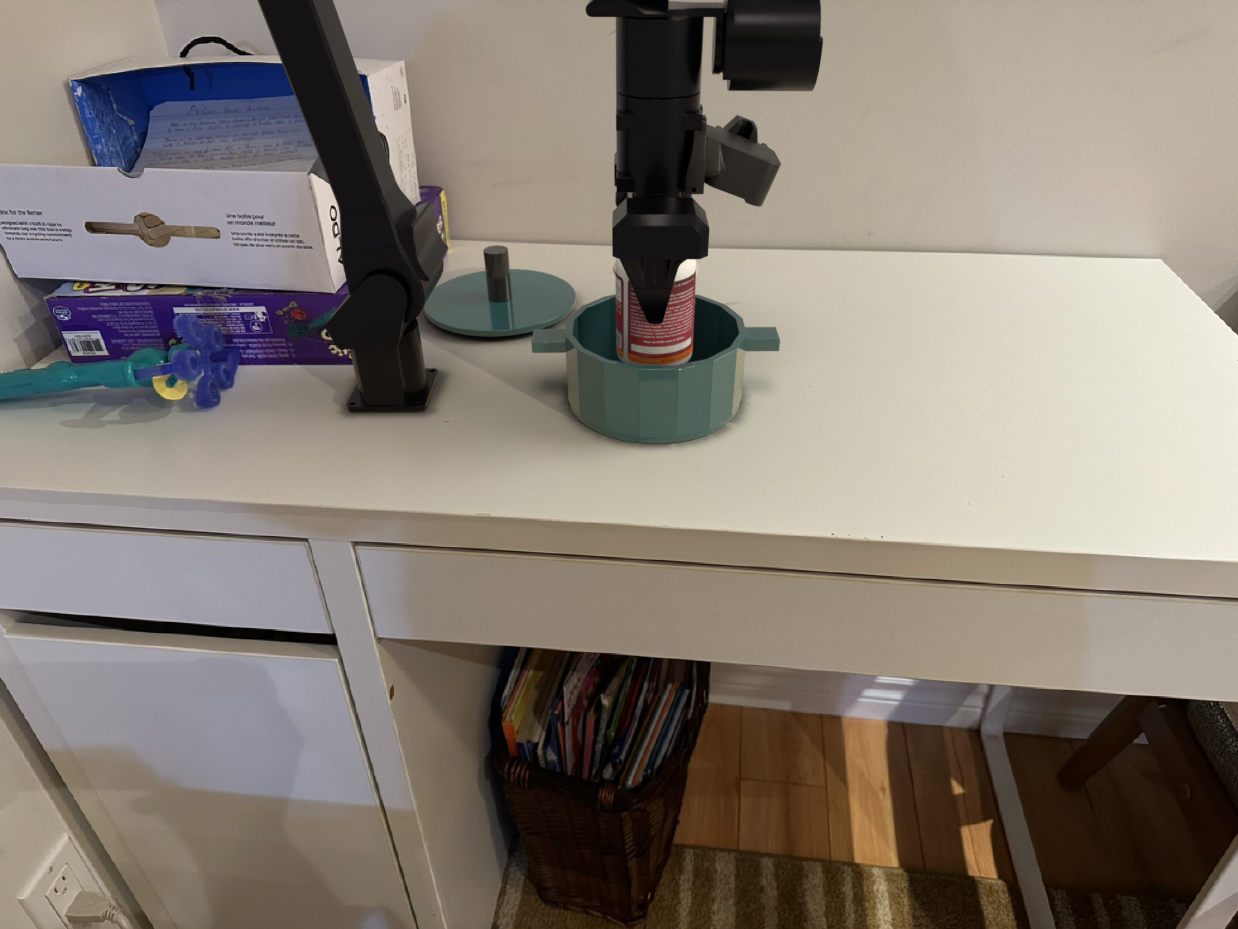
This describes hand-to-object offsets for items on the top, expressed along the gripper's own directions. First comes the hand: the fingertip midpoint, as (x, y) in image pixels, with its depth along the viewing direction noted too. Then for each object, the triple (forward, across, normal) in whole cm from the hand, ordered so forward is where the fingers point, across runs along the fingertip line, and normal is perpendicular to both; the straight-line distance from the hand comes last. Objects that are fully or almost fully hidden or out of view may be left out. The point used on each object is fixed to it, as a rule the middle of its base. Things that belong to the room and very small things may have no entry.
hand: (654, 305), depth 66 cm
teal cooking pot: (+8, 0, 0) cm, 8 cm away
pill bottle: (+5, 0, 0) cm, 5 cm away
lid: (+8, +18, +15) cm, 25 cm away
